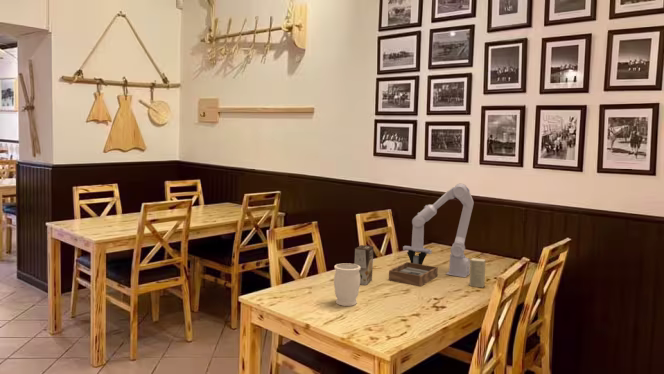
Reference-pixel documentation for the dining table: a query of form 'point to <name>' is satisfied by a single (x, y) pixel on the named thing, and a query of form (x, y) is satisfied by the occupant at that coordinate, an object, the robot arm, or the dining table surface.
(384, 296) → the dining table surface
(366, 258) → the coffee box
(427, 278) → the box
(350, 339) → the dining table surface
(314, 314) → the dining table surface
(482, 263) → the skincare box
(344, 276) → the jar
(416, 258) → the peg
